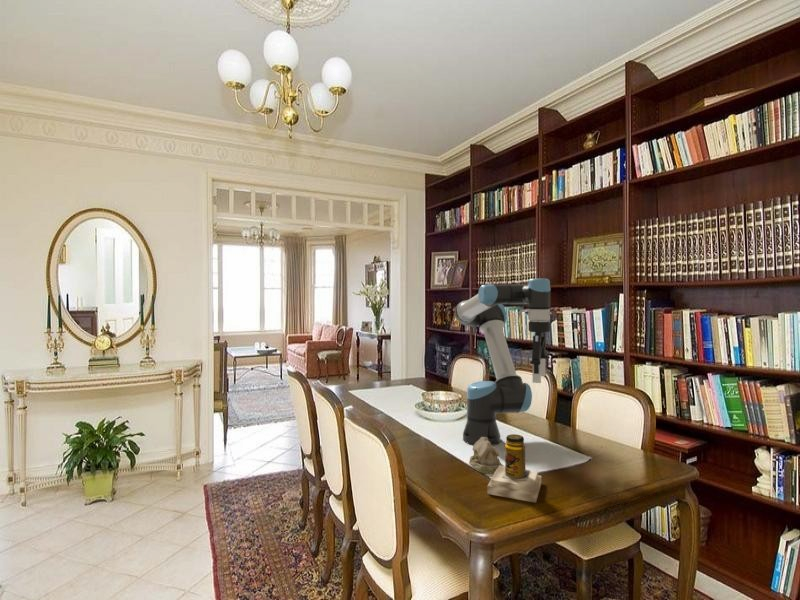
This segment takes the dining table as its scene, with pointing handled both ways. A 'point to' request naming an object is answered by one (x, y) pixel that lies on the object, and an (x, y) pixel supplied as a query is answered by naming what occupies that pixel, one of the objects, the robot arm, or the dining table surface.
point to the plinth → (515, 492)
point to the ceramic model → (484, 456)
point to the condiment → (515, 458)
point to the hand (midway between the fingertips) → (539, 379)
